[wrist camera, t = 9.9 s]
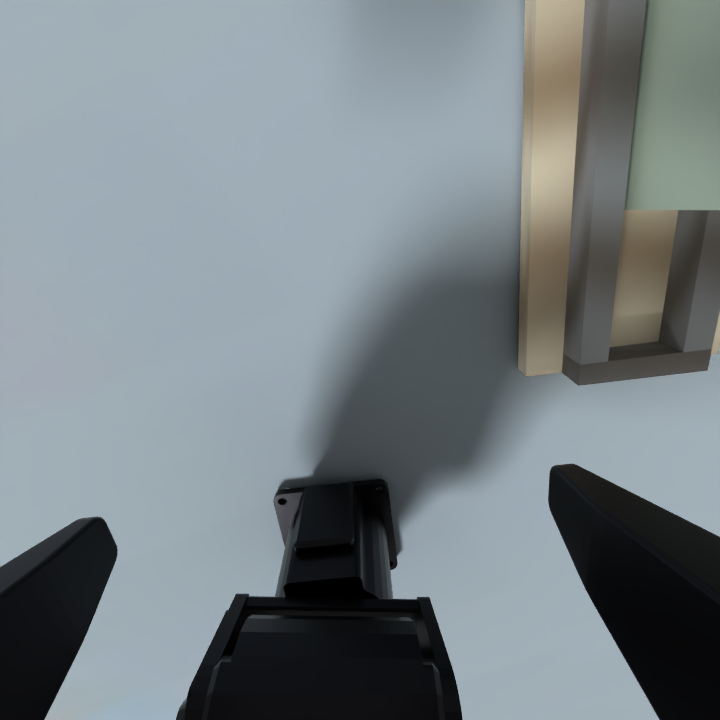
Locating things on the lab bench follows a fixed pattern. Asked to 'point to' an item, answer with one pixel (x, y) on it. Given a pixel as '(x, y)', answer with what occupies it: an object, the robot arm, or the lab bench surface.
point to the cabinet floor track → (602, 213)
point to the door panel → (677, 109)
